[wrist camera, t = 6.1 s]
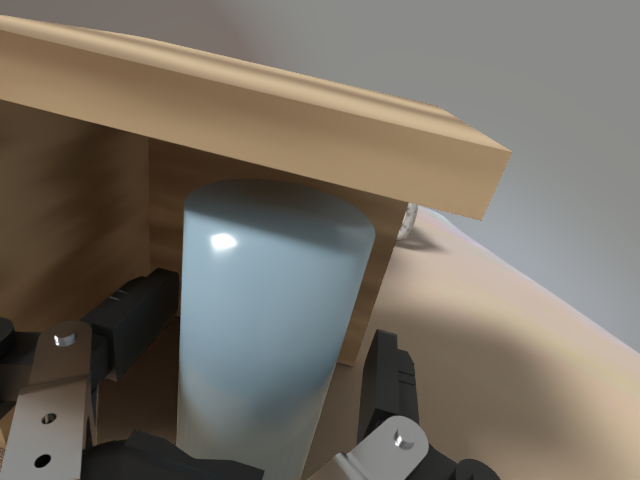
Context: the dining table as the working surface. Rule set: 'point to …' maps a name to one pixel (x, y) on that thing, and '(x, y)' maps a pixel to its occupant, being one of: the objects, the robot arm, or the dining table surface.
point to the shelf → (193, 161)
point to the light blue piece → (263, 317)
